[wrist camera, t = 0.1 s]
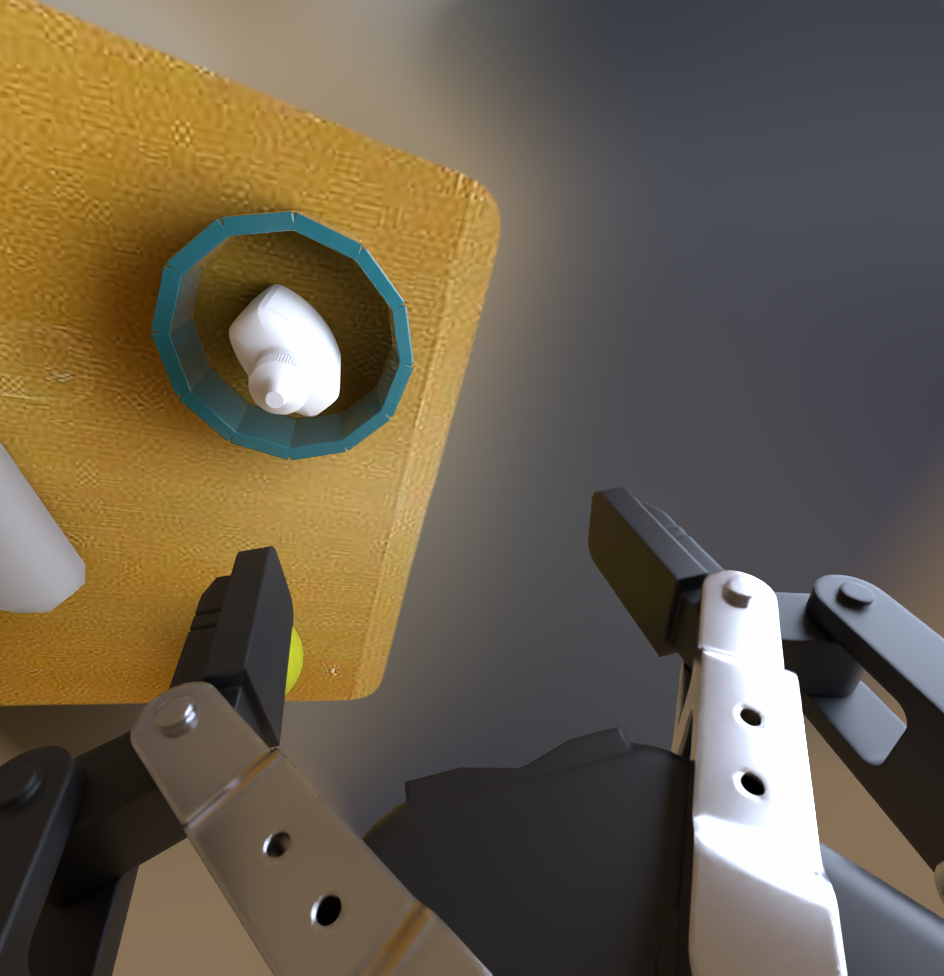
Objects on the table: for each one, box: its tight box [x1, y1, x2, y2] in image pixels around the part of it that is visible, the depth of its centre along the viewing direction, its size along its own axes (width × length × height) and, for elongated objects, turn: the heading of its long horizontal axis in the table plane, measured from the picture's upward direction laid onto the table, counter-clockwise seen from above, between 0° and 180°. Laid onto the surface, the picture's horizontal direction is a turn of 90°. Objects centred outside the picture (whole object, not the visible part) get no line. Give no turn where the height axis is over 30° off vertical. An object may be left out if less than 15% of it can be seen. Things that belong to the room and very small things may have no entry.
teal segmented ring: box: [151, 209, 414, 460], centre depth 28 cm, size 13×13×4 cm
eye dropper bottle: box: [229, 284, 341, 417], centre depth 25 cm, size 4×6×12 cm
